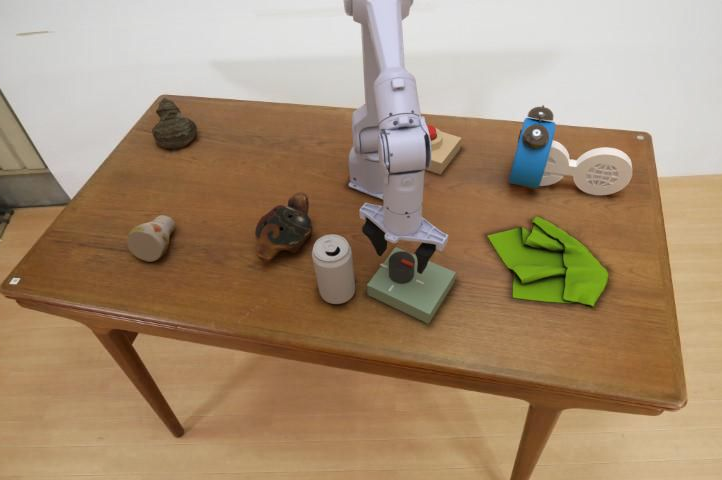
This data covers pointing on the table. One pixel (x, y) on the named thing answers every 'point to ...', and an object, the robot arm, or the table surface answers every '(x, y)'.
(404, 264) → the dial
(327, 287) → the beverage can
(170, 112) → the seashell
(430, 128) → the button
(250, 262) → the table surface
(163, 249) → the beige ceramic vase
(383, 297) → the dial panel
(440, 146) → the button housing
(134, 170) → the table surface
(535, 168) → the alarm clock
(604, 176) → the white double disc plate
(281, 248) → the decorative turtle
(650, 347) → the table surface
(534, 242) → the cloth
